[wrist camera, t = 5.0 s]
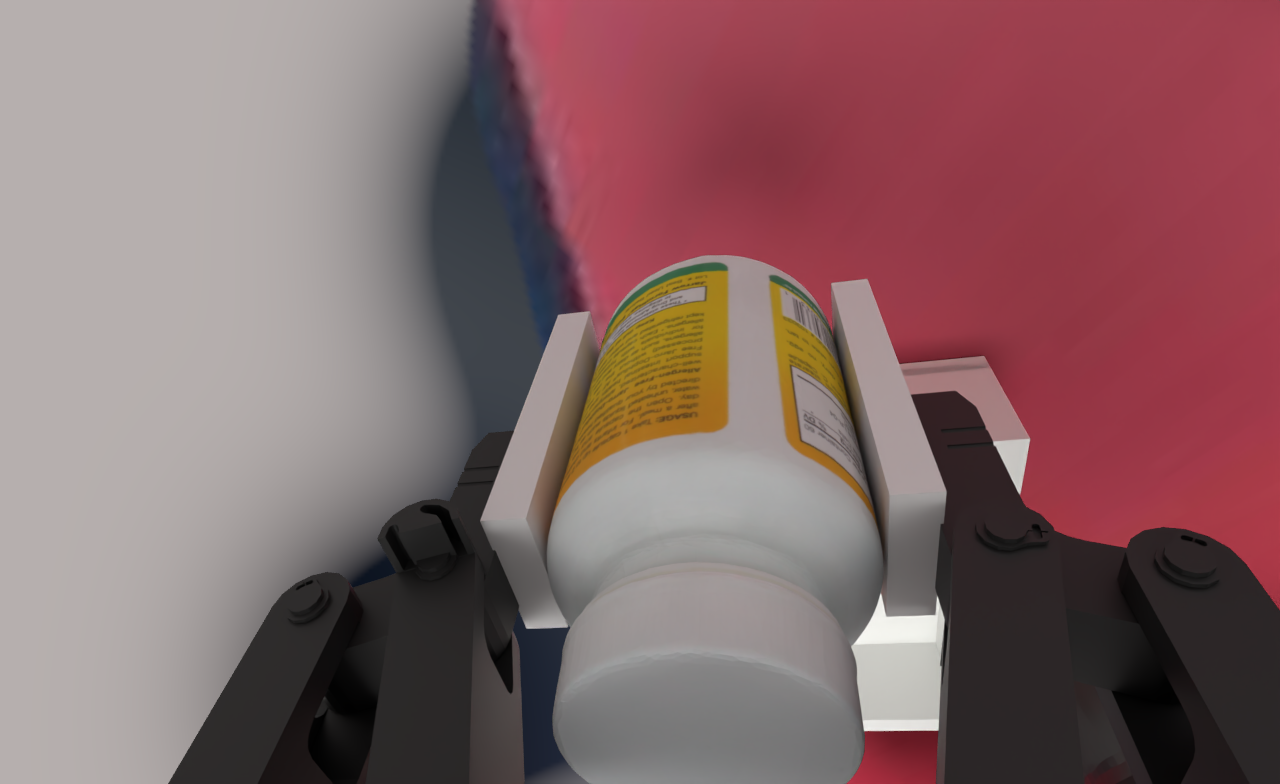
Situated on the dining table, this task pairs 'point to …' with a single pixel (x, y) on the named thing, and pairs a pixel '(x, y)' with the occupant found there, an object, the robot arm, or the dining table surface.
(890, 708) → the tote
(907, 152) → the dining table surface
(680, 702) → the supplement bottle
